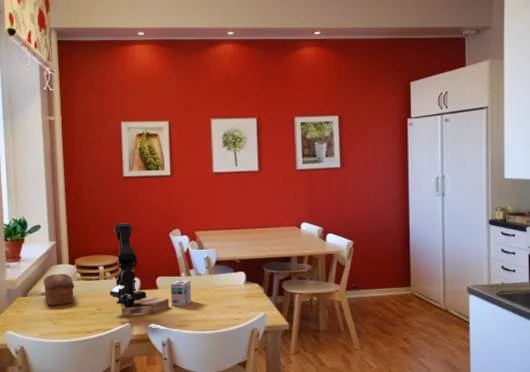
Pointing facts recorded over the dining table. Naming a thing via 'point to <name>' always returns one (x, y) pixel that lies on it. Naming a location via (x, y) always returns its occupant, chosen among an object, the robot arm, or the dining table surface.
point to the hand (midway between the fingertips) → (128, 311)
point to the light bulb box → (180, 292)
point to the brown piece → (152, 303)
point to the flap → (137, 310)
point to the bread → (58, 289)
